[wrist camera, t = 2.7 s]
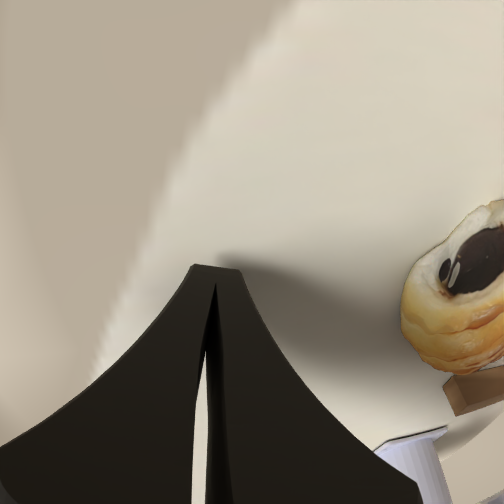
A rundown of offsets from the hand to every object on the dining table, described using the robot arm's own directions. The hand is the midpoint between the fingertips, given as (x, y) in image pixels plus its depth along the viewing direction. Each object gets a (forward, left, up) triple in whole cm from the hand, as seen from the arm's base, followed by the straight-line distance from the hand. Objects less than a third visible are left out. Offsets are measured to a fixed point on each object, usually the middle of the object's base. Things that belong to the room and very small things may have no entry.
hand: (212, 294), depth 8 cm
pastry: (+1, -11, -2) cm, 11 cm away
